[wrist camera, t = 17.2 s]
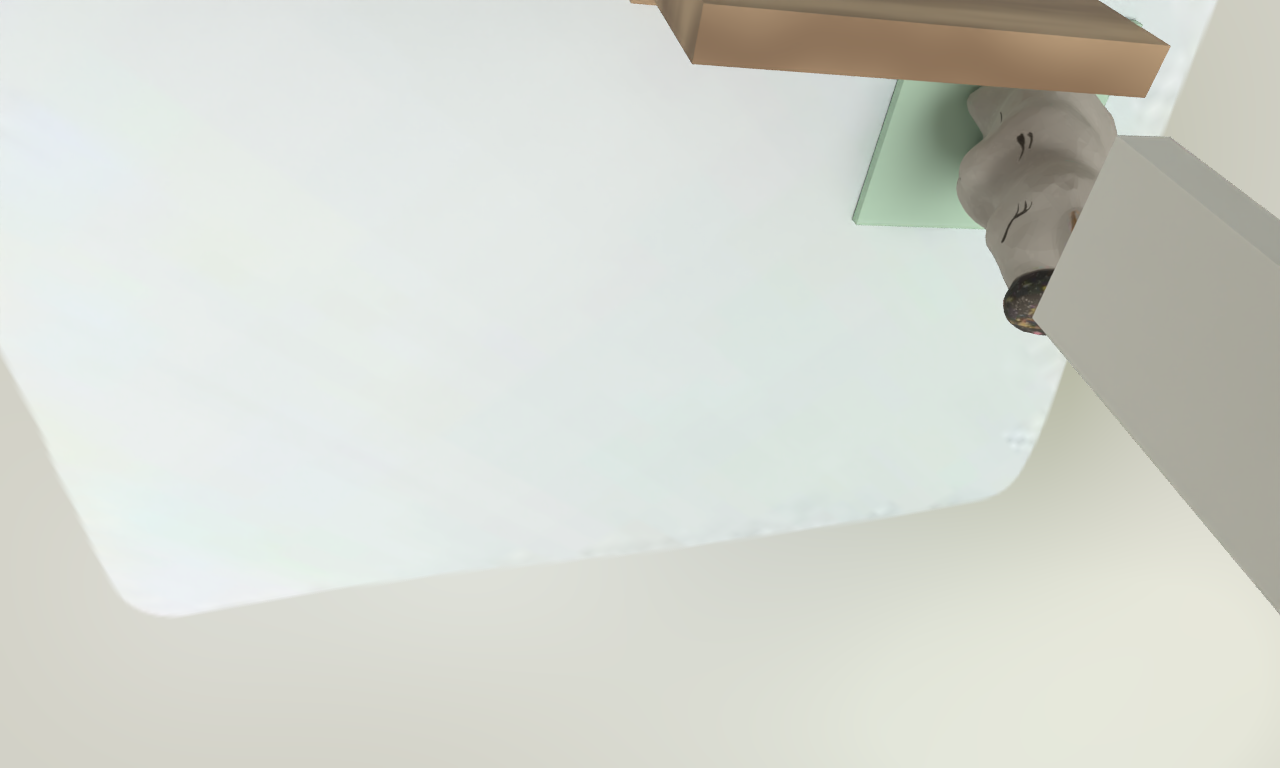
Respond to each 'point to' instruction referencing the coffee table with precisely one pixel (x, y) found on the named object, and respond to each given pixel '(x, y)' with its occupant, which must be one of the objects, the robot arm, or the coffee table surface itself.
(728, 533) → the coffee table surface
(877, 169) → the pad
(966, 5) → the screen
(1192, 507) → the robot arm
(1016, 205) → the figurine
